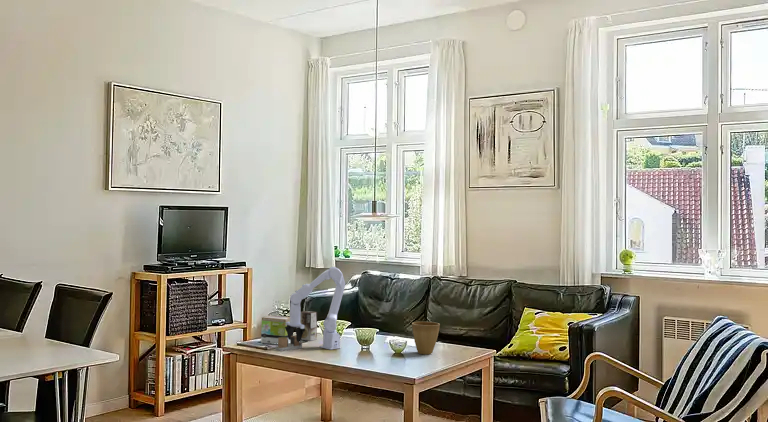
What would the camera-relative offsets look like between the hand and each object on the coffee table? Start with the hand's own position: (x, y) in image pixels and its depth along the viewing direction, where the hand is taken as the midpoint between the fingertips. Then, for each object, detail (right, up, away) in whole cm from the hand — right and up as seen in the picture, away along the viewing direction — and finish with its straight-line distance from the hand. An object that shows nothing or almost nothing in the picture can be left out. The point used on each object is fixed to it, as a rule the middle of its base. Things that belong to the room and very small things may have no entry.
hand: (294, 340), depth 380 cm
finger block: (0, -3, 0) cm, 3 cm away
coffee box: (+4, -5, +28) cm, 29 cm away
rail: (-3, -4, -3) cm, 6 cm away
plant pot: (+71, -6, -7) cm, 71 cm away
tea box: (-12, -4, +15) cm, 20 cm away
